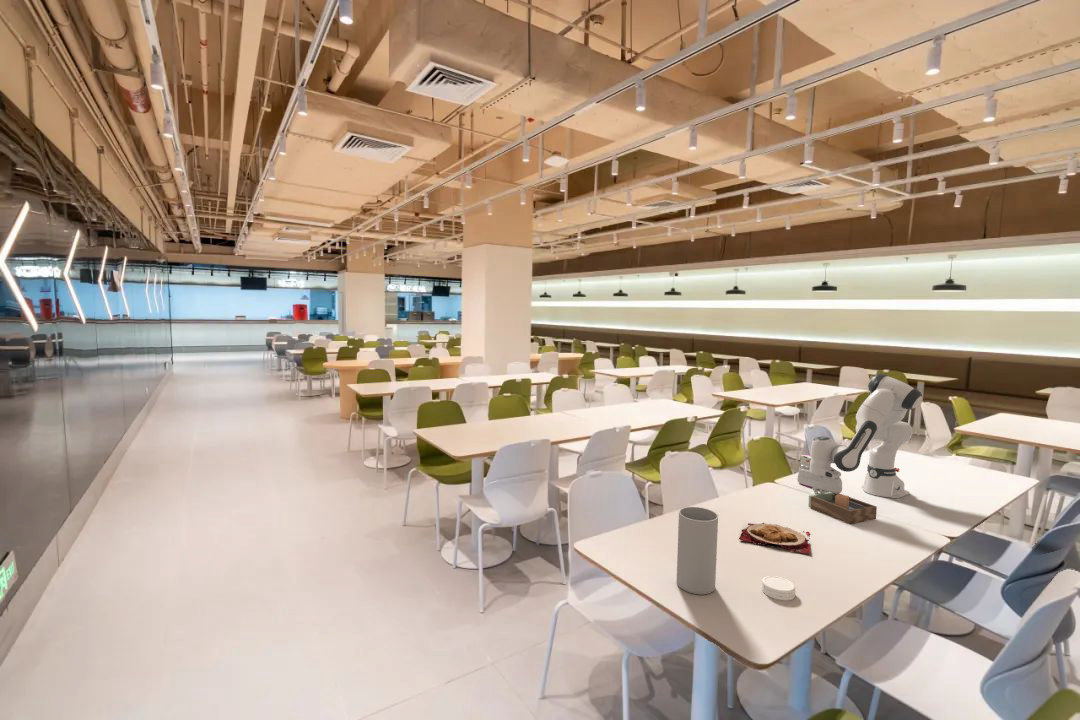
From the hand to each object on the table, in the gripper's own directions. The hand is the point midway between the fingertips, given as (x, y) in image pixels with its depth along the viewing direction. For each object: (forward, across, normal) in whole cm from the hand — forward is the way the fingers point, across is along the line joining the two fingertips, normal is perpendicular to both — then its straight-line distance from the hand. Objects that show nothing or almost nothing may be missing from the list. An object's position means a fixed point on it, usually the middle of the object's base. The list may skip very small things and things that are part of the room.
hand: (818, 496), depth 245 cm
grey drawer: (+3, +11, -2) cm, 12 cm away
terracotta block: (+1, +12, -2) cm, 13 cm away
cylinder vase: (+4, +18, -113) cm, 115 cm away
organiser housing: (+4, +13, -3) cm, 14 cm away
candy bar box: (+4, -16, +24) cm, 29 cm away
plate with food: (+4, +10, -54) cm, 55 cm away
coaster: (+4, +36, -93) cm, 100 cm away
